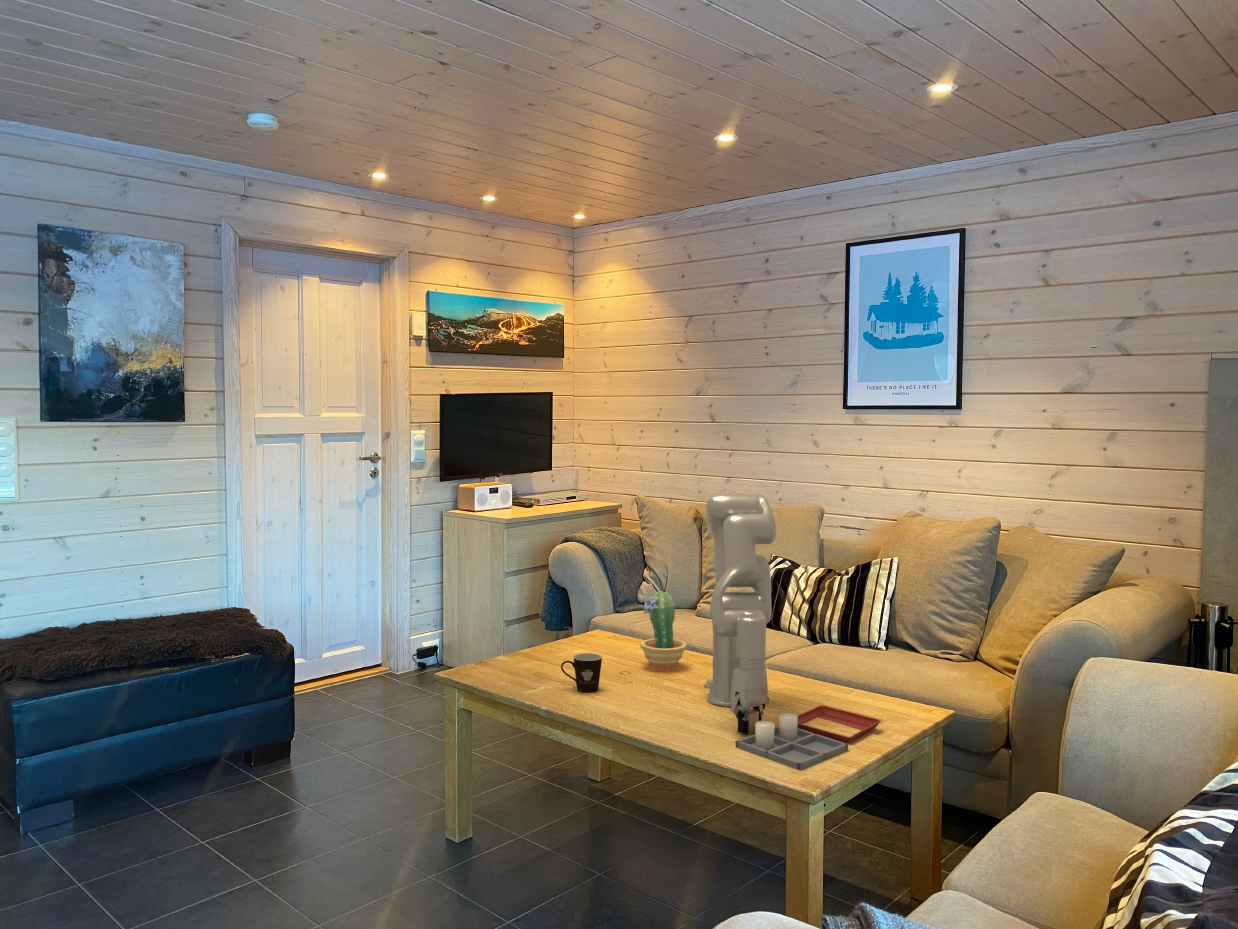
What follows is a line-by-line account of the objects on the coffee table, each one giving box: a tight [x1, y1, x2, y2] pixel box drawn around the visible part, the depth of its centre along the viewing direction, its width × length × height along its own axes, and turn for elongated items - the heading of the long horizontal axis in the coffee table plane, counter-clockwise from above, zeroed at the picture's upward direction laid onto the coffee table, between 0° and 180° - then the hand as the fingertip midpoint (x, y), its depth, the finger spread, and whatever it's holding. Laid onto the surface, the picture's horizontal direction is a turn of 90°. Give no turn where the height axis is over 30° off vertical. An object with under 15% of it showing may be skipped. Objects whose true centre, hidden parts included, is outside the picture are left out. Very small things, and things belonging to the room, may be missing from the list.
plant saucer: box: [797, 705, 882, 744], centre depth 241 cm, size 18×18×3 cm
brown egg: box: [741, 708, 759, 735], centre depth 237 cm, size 5×5×6 cm
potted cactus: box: [639, 590, 688, 673], centre depth 299 cm, size 15×15×25 cm
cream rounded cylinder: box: [778, 712, 798, 742], centre depth 231 cm, size 5×5×6 cm
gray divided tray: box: [735, 725, 849, 771], centre depth 225 cm, size 19×19×2 cm
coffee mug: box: [560, 652, 603, 694], centre depth 275 cm, size 12×9×10 cm
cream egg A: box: [755, 720, 776, 751], centre depth 225 cm, size 5×5×6 cm
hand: (749, 731), depth 238 cm, fingers closed on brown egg, 4 cm apart
